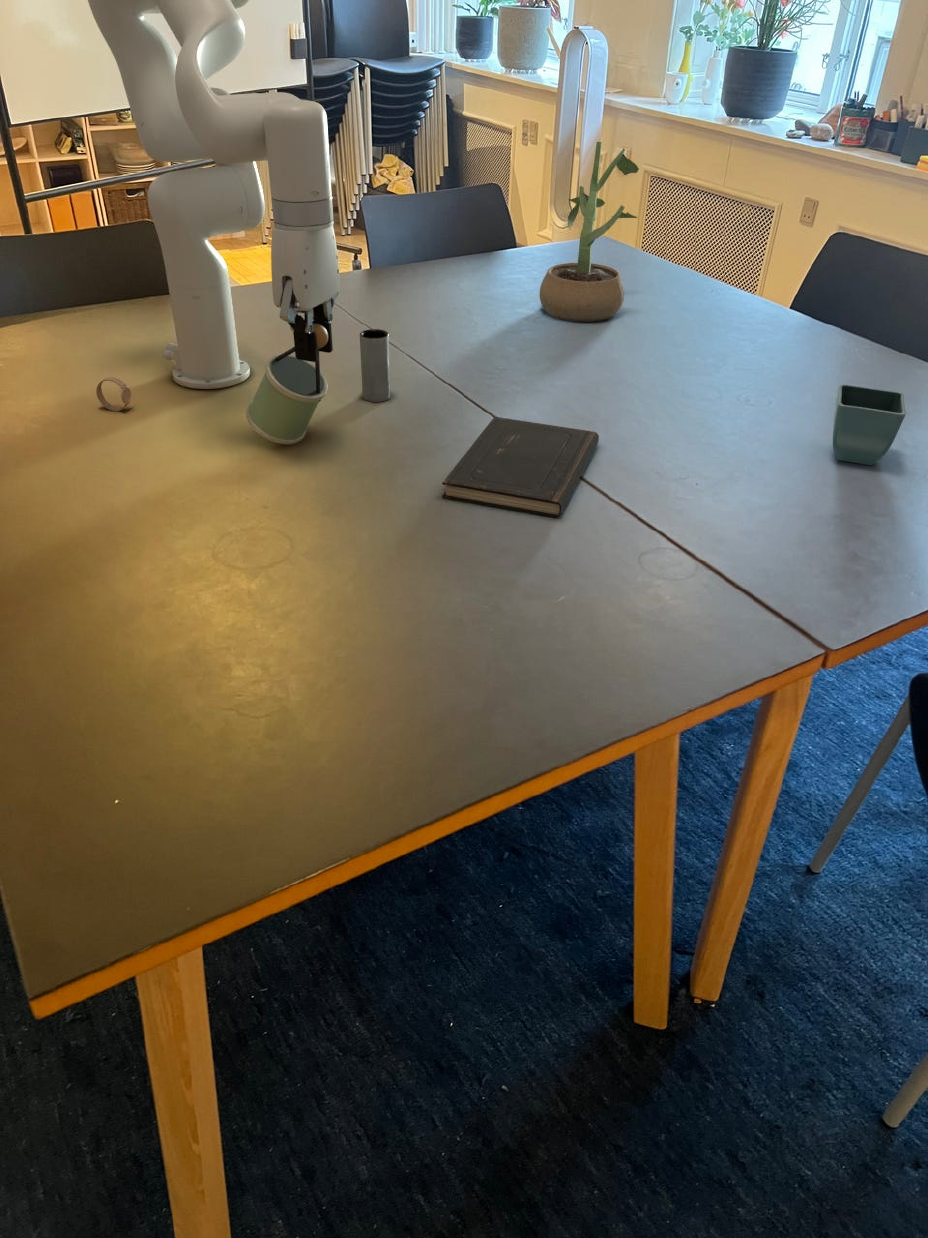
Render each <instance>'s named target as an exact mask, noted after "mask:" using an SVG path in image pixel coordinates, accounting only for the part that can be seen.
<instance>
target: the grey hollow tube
mask: <svg viewBox="0 0 928 1238" xmlns="http://www.w3.org/2000/svg"><path fill="white" fill-rule="evenodd" d="M359 350H360V351H359V352H360V353H359V354H360V355H359V356H360V373H361V374H360V375H361V394H362V398H363V399H364V400H365V401H367V402H373V403H380V402H385V401H387V400H389V399H390V398H391V395H392V394H391V393H392V392H391V363H390V359H391V358H390V333H389V332H388V331H386V330H384V329H380V328H371V329H365V330H362V331H361V332H360V333H359Z"/></svg>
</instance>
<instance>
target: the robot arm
mask: <svg viewBox="0 0 928 1238" xmlns="http://www.w3.org/2000/svg"><path fill="white" fill-rule="evenodd" d="M249 2H250V0H87V3H88V6H89V8H90V11H91V14H92V16H93V19H94V21H95V23H96V25H97V27H98V29H99V31H100V34H101V35H102V37H103V38H104V41H105V42H106V44H107V46H108V47H109V50H110V51H111V54H112V55H113V57H114V60H115V62H116V65H117V68H118V71H119V74H120V78H121V81H122V86H123V88H124V92H125V95H126V98H127V101H128V105H129V109H130V111H131V116H132V119H133V122H134V126H135V128H136V132H137V135H138V139H139V141H140V143H141V146H142V149H143V150H144V152H145V154H146V155H147V156H148V157H149V158H150V159H151V160H153V161H155V162H160V163H178V162H179V163H181V162H191V161H199V160H209V159H210V160H212V161H213V162H214V163H215V165H216V166H211V167H197V168H191V169H190V168H188V169H179V170H174V171H169V172H166V173H163V174H160V175H159V176H157V177H156V178H154V180H152V181H151V183H150V185H149V186H148V189H147V203H148V204H147V205H148V209H149V212H150V215H151V219H152V222H153V225H154V228H155V231H156V234H157V238H158V241H159V245H160V249H161V254H162V258H163V263H164V268H165V269H164V270H165V275H166V281H167V287H168V294H169V299H170V306H171V313H172V319H173V325H174V331H175V338H176V343H171V342H168V343H166V345H165V347H164V348H165V349H164V350H163V352H162V358H163V359H166V360H170V361H171V360H172V361H174V364H175V367H174V368H173V369H172V379H173V381H174V382H175V383H176V384H178V385H180V386H182V387H185V388H189V389H198V390H215V389H224V388H228V387H232V386H235V385H237V384H240V383H243V382H244V381H246V380H247V379H248V378H249V377H250V374H251V369H250V365H249V364H248V363H247V362H246V361H244V360H241V359H240V355H239V348H238V338H237V330H236V322H235V315H234V307H233V306H234V305H233V298H232V291H231V282H230V274H229V268H228V265H227V263H226V261H225V259H224V257H223V256H222V255H221V253H219V251H218V250H217V249H215V247H214V246H213V245H212V244H211V241H210V238H213V237H217V236H222V235H228V234H235V233H242V232H246V231H251V230H254V229H256V228H258V227H259V226H260V225H261V224H262V223H263V220H264V218H265V212H266V203H265V195H264V191H263V186H262V181H261V179H260V175H259V171H258V167H257V162H262V161H266V162H267V168H268V176H269V177H268V178H269V189H270V190H269V191H270V199H271V208H272V218H273V228H272V231H271V232H272V233H271V244H270V260H271V261H270V264H271V265H270V268H271V284H272V285H271V289H272V299H273V304H274V306H275V307H276V308H279V309H280V310H279V311H280V312H279V319H280V320H281V321H284V322H286V323H287V324H288V325H289V328H290V331H292V335H293V344H294V346H295V352H294V355H295V356H296V358H297V359H298V360H304V361H308V362H310V363H311V362H312V363H315V362H316V361H317V360H318V353H317V340H316V332H314V331H312V330H313V324H319V325H322V326H323V327H324V328H325V329H326V330H327V333H328V341H327V343H326V345H325V346H323V347H322V348H319V353H320V352H322V353H327V354H330V353H332V352H334V351H333V350H334V347H333V334H332V333H333V331H332V323H331V322H332V321H333V318H334V317H333V315H334V314H333V309H334V304H335V301H336V299H337V297H338V295H339V292H340V267H339V266H340V263H339V256H338V255H339V253H338V248H337V247H338V246H337V241H336V233H335V228H334V225H335V222H334V207H333V206H334V205H333V196H332V195H333V194H332V177H331V164H330V163H331V162H330V146H329V144H330V143H329V130H328V128H329V127H328V117H327V116H328V115H327V112H326V110H325V108H324V106H323V105H321V104H320V102H316V101H314V100H307V99H301V98H299V97H298V96H295V95H294V94H292V93H289V92H284V91H283V92H282V91H278V92H277V91H276V92H274V91H273V92H261V93H259V92H253V93H252V92H251V93H239V94H231V93H229V92H228V91H227V90H226V89H225V90H224V89H222V88H219V87H213V86H212V87H210V85H209V83H208V82H207V80H208V79H210V77H213V75H215V74H217V73H218V72H220V71H221V70H223V69H224V68H226V67H227V66H229V65H230V64H231V63H232V62H233V61H235V59H236V58H237V57H238V56H239V54H240V52H241V50H242V49H243V47H244V45H245V38H246V29H245V28H246V27H245V24H244V22H243V19H242V17H241V15H240V13H238V11H237V9H239V8H242V7H244V6H246V5H247V4H248V3H249ZM145 14H146V15H147V14H162V16H163V18H164V20H165V22H166V23H167V25H168V27H169V28H170V30H171V33H173V35H174V38H175V39H176V41H177V42H178V44H179V46H180V47H181V49H180V51H179V53H178V56H177V54H176V51H175V50H174V48H173V47H172V46H171V43H169V41H168V40H167V38H166V37H164V35H163V34H162V33H161V32H160V31H159V30H158V28H156V27H155V26H154V25H153V24H152V23H151V22H149V21H148V20H147V19H146V18H145V16H144V15H145ZM299 313H300V314H304V317H303V316H302V315H300V314H299ZM294 346H293V347H294Z"/></svg>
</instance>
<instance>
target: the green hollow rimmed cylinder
mask: <svg viewBox="0 0 928 1238" xmlns="http://www.w3.org/2000/svg"><path fill="white" fill-rule="evenodd" d="M312 331H314V332H316V340H317V353H318V360H317V361H316V362H314V364H313V363H311V362H310V361H304V360H298V359H297V358H296V356H295V354H294V353H295V346H293V347H291V348H290V349H287V350H286V351H284V352H282V353H276V354H274V355H272V356H270V357H269V358H268V360H267V361H266V363H265V367H264V373H263V376H262V378H261V380H260V383H259V386H258V388H257V390H256V392H255V394H254V396H253V399H252V400H251V401H250V402H249V403H248V405H247V406H246V410H245V416H246V419H247V422H248V424H249V425H250V427H251V428H252V429H253V430H254V431H255V432H256V433H257V434H259V436H261V437H263V438H265V439H266V440H268V441H271V442H273V443H276V444H280V445H294V444H297V443H300V442H301V441H302V440H303V439H304V438H305V436H306V434H307V427H308V426H309V423H310V421H311V419H312V417H313V415H314V414H315V411H316V410H317V408H318V406H319V403H320V402H321V401H322V400H323V398H324V397H325V396H326V394H327V393H328V388H329V386H328V381H327V379H326V377H325V374H324V373H322V371H321V363H320V351H319V348H322V347H323V346H325V345H326V343H327V341H328V333H327V330H326V329H325V328H324V327H323V326H322V325H319V324H313V330H312Z"/></svg>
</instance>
